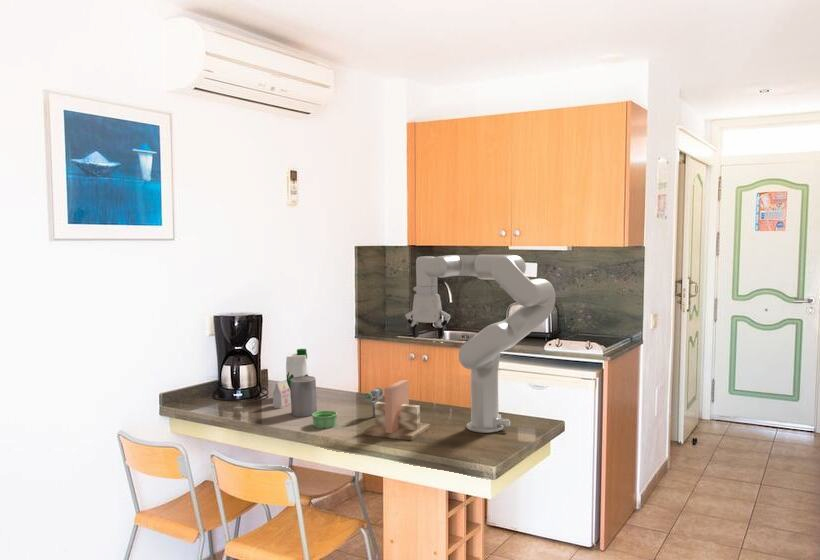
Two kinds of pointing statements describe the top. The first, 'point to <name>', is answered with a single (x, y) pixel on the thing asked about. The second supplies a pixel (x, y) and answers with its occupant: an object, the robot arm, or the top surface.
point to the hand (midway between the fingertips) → (428, 337)
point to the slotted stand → (406, 423)
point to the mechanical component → (374, 397)
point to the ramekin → (324, 419)
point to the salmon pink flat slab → (395, 404)
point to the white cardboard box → (281, 395)
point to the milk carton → (296, 365)
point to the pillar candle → (303, 396)
